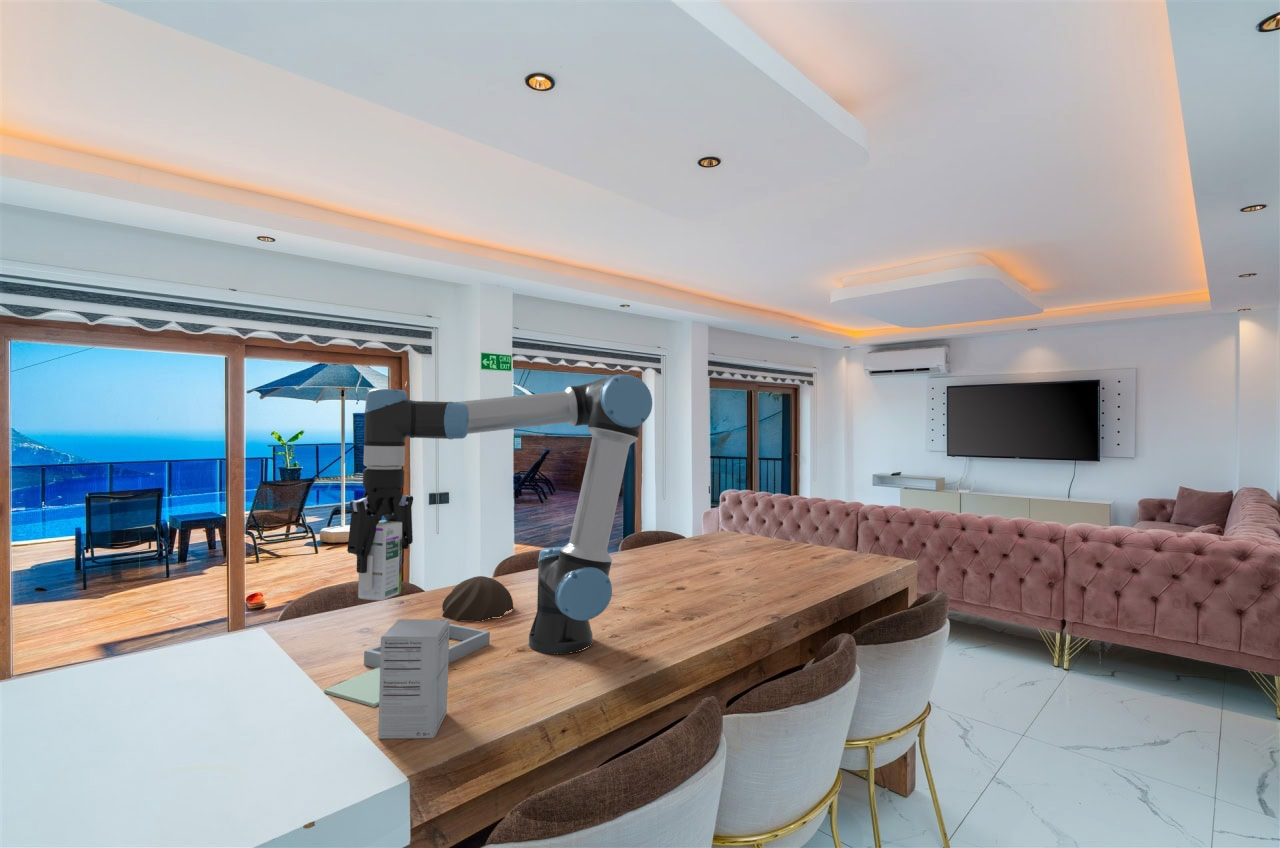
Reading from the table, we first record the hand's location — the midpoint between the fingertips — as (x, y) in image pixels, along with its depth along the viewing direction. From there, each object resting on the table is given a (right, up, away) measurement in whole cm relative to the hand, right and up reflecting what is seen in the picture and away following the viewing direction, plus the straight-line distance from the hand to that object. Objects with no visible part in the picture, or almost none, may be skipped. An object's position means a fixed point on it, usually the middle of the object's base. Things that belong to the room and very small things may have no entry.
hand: (380, 585), depth 120 cm
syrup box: (0, -2, 0) cm, 2 cm away
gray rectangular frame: (+4, -20, +18) cm, 27 cm away
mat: (0, -20, 0) cm, 20 cm away
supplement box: (+12, -20, -16) cm, 28 cm away
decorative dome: (+5, -21, +52) cm, 57 cm away
